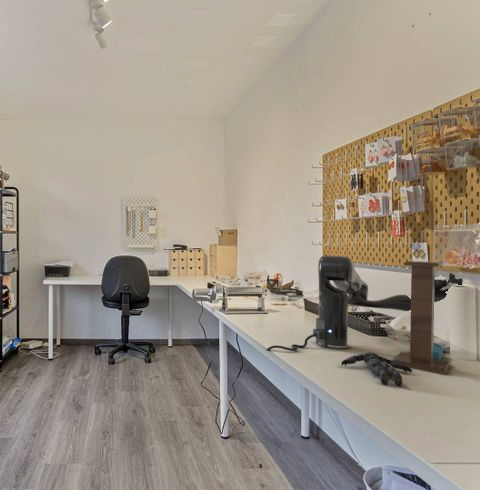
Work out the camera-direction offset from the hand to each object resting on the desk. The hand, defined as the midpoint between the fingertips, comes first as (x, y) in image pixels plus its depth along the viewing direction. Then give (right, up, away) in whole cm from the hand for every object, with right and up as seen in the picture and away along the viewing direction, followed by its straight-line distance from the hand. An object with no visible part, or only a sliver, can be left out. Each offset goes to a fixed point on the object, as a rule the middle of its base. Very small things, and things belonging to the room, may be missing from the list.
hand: (434, 274), depth 131 cm
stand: (-20, -27, -18) cm, 38 cm away
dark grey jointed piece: (-40, -27, -26) cm, 54 cm away
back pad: (-8, -27, -7) cm, 29 cm away
